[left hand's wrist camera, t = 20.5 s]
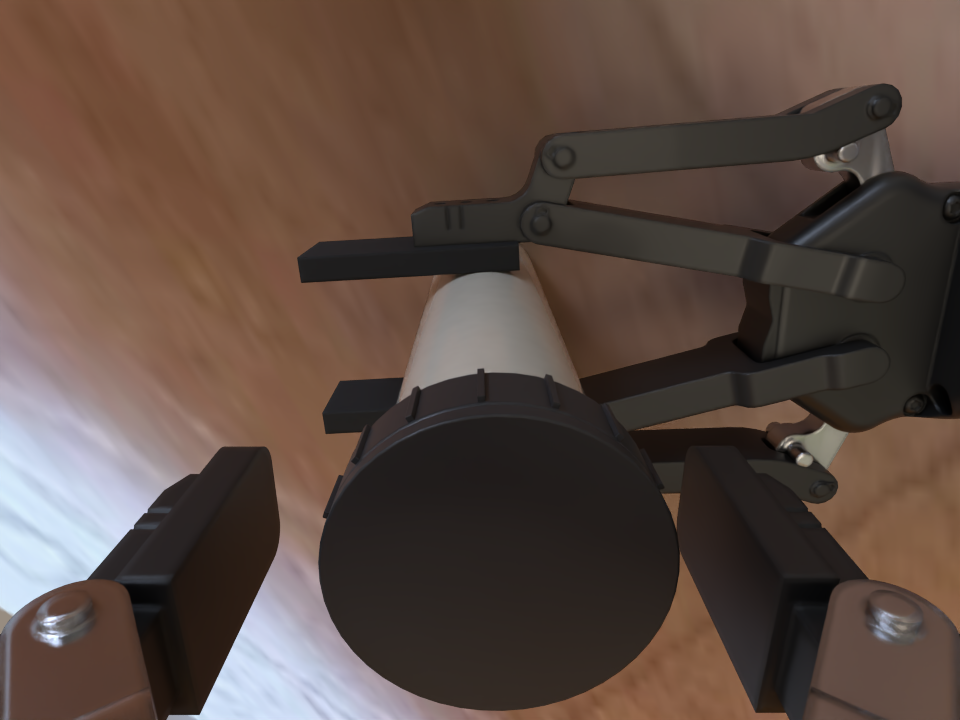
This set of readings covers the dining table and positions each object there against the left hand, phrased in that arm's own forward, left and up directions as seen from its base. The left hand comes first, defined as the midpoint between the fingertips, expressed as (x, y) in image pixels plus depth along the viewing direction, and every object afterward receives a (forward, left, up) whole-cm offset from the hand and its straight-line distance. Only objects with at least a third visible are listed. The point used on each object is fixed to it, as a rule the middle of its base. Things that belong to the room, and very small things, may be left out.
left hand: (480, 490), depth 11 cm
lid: (0, 0, +2) cm, 2 cm away
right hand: (+3, -4, -10) cm, 11 cm away
